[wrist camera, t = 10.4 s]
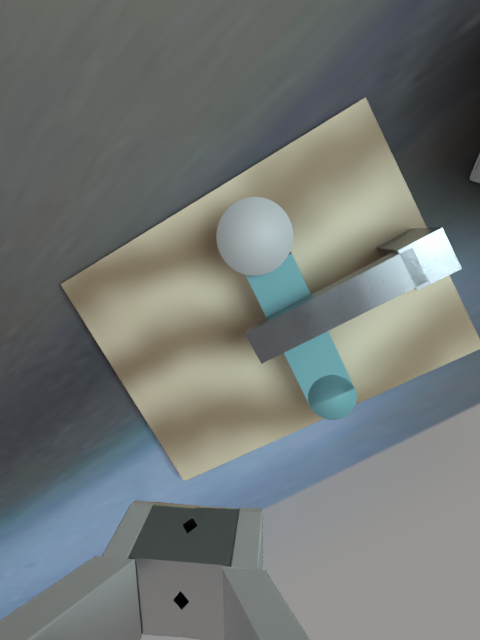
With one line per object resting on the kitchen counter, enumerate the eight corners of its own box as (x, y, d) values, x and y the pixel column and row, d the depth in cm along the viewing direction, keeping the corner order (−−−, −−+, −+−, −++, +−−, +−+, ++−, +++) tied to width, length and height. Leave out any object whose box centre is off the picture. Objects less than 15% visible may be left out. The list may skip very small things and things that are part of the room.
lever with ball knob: (212, 221, 26) (203, 219, 23) (274, 188, 25) (272, 182, 22) (307, 413, 28) (310, 435, 25) (367, 389, 27) (377, 409, 24)
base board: (68, 282, 29) (39, 289, 26) (362, 102, 24) (374, 81, 21) (187, 473, 32) (175, 502, 28) (476, 343, 27) (503, 359, 23)
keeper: (250, 313, 27) (242, 331, 22) (412, 228, 25) (442, 227, 20) (266, 343, 27) (263, 366, 23) (428, 262, 25) (461, 268, 20)
